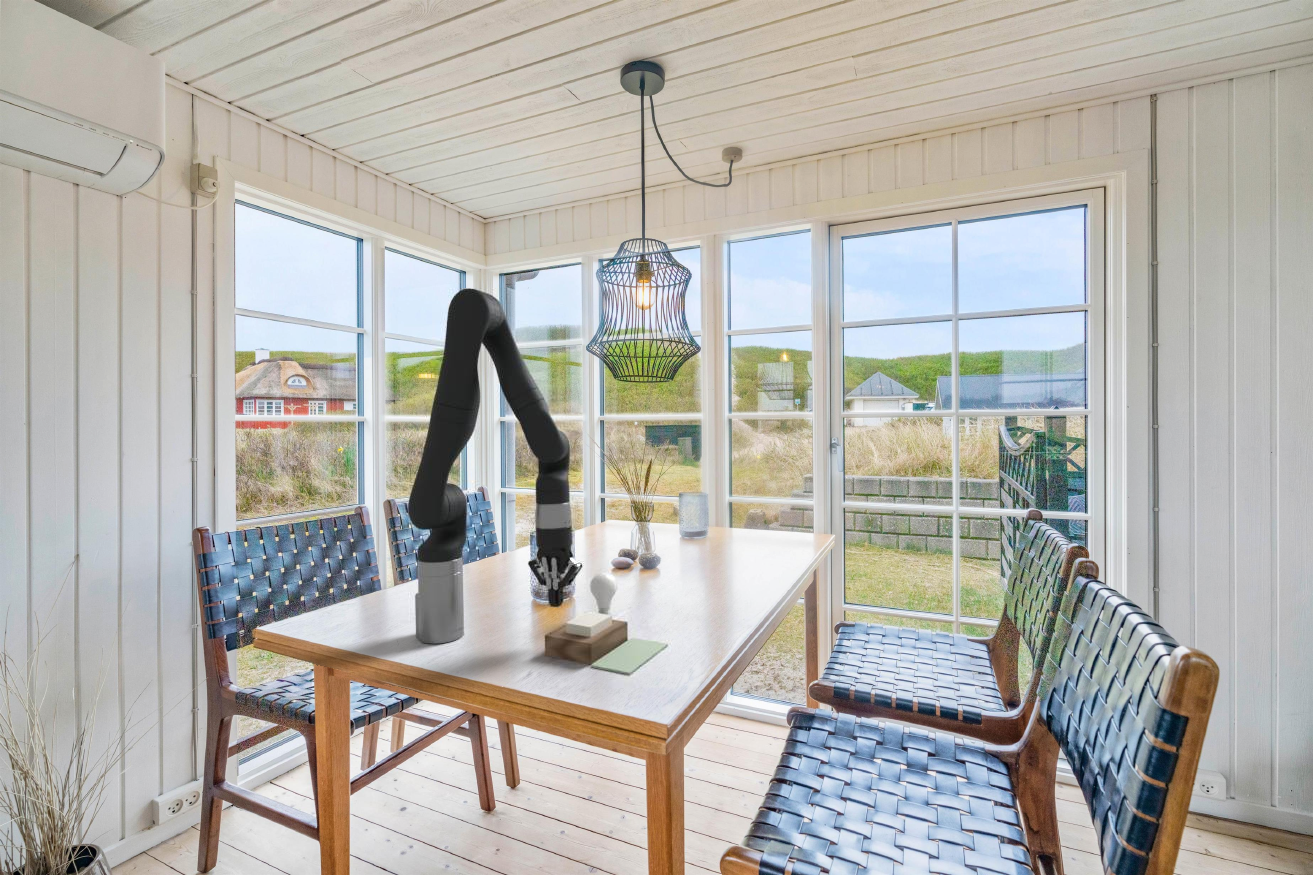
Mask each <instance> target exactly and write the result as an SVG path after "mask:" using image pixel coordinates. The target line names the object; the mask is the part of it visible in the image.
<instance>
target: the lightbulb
mask: <svg viewBox="0 0 1313 875" xmlns="http://www.w3.org/2000/svg"><path fill="white" fill-rule="evenodd" d="M589 590H590V592H591V594H592V596H593V597H594V599H595V601H596V605H597V609H598V613H600V614H606V615H611V614H610V612H611V611H610V610H611V607H610V606H611V605H612V600H613V598H614V596H615V595H616V593H617V591H618V582H617V579H616V578H615V576H614V575H613V574H611V573H609V572H605V571H604V572H603V571H602V572H599V573H597V574H595V575H594V576H592V579H591V580H590V586H589Z"/></svg>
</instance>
